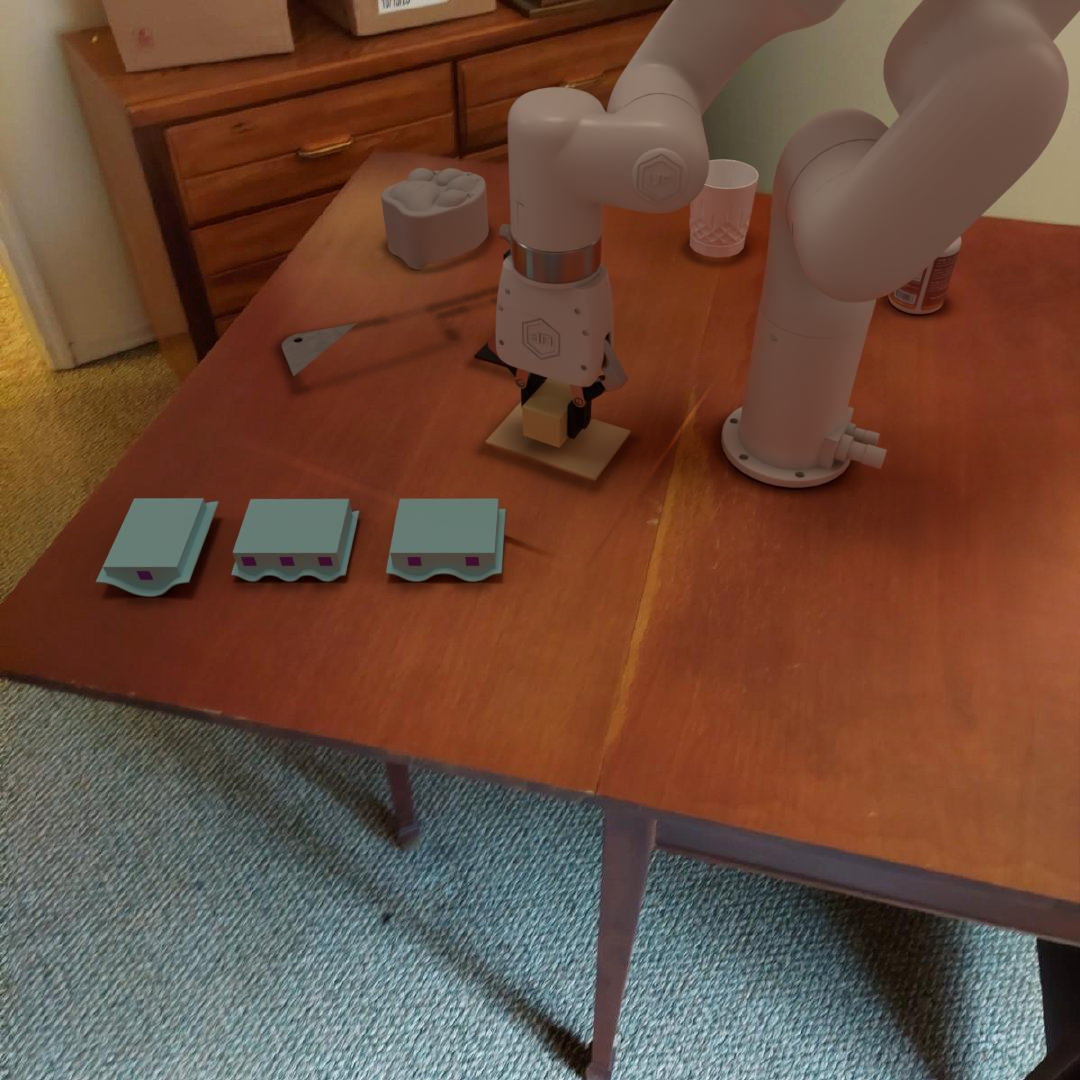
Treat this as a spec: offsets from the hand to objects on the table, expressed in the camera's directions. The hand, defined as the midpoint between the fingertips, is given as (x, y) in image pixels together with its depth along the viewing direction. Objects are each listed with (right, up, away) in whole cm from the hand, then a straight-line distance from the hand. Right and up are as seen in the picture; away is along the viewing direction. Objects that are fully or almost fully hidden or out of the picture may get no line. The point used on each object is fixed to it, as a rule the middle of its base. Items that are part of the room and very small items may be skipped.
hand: (555, 421), depth 93 cm
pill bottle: (+42, +16, +19) cm, 49 cm away
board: (0, -2, +2) cm, 3 cm away
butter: (0, 0, 0) cm, 0 cm away
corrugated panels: (-22, -13, -8) cm, 27 cm away
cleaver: (-16, +12, +16) cm, 26 cm away
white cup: (+21, +25, +28) cm, 43 cm away
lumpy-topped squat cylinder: (-14, +27, +31) cm, 43 cm away
